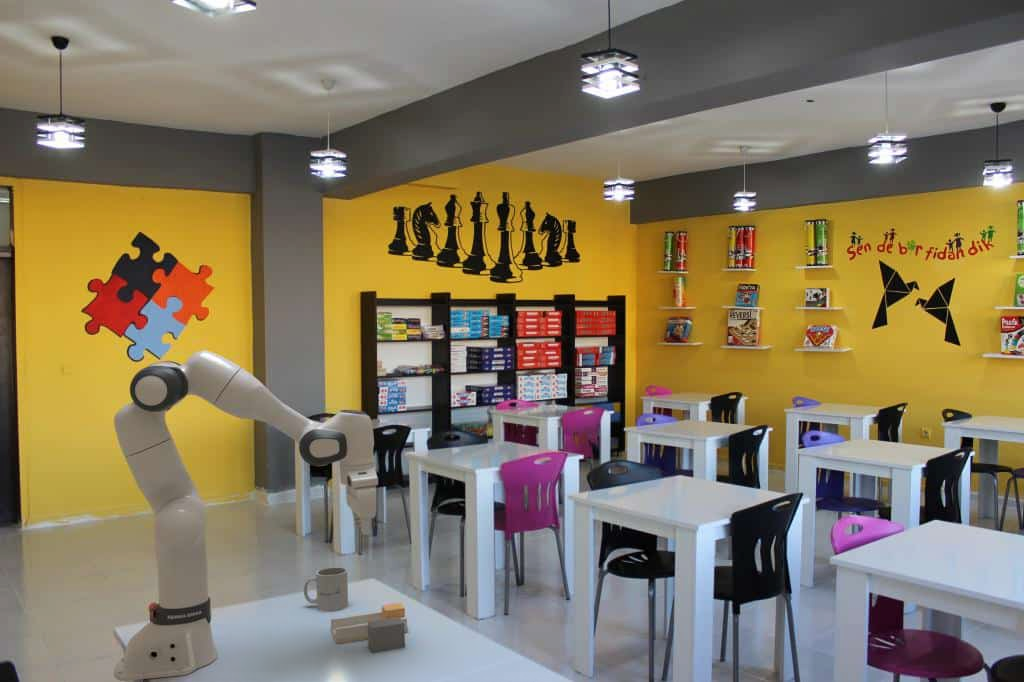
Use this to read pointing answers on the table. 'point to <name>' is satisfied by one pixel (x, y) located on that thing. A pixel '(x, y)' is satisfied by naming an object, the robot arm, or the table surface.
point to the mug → (330, 589)
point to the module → (386, 634)
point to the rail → (364, 623)
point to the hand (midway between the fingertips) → (362, 530)
